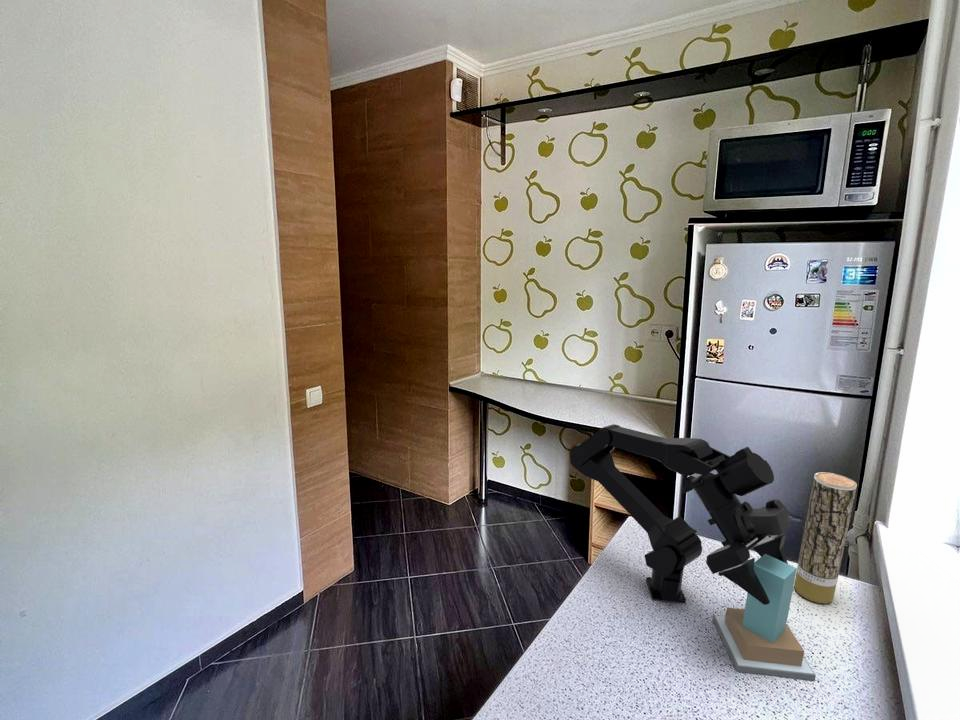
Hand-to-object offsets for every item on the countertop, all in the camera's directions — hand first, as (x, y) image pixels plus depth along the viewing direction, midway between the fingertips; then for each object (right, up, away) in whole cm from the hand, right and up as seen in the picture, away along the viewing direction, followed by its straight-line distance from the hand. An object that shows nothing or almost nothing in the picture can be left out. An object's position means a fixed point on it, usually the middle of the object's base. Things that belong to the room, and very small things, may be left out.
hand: (779, 592), depth 85 cm
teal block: (-1, -7, +3) cm, 8 cm away
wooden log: (+18, -9, +18) cm, 27 cm away
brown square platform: (-1, -11, +4) cm, 12 cm away
